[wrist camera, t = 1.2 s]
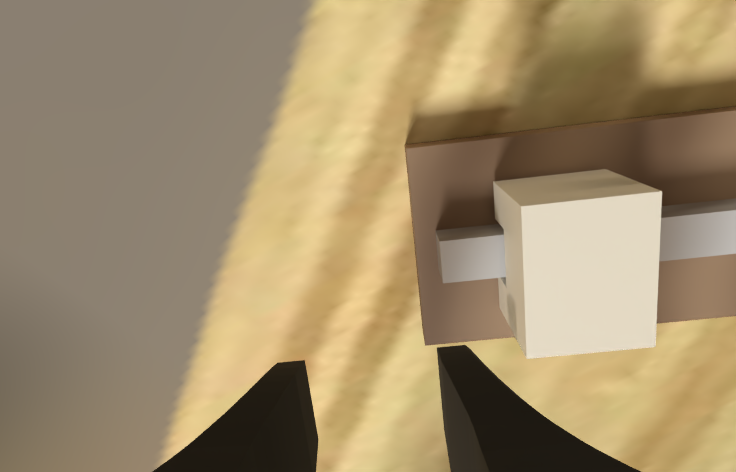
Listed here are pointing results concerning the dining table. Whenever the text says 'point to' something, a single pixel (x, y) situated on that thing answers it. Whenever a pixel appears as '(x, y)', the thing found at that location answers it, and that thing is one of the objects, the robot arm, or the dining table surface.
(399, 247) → the dining table surface
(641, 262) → the slider
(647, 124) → the rail board
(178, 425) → the dining table surface
